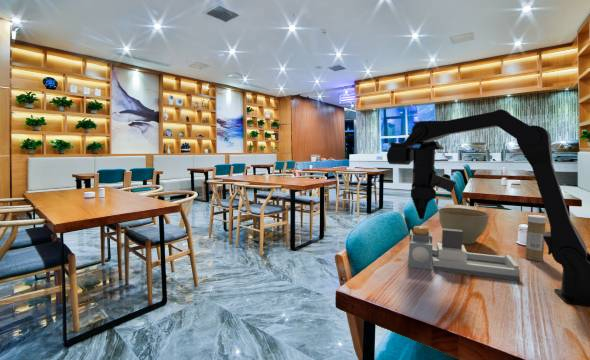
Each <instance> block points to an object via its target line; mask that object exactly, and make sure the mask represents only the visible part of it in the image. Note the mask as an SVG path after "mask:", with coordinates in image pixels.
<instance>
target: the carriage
mask: <svg viewBox="0 0 590 360" xmlns="http://www.w3.org/2000/svg"><path fill="white" fill-rule="evenodd" d="M441 228H442V227H441ZM441 231H442V232H441V242H437V244H436V245H437V246H436V249H437V259H438V260H446V261H454V262H463V263H466V260H467V252H468V251H467V250H466V248H465V244H462V235H463V232H462V230H458V229H446V228H442V230H441Z"/></svg>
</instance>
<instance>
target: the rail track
mask: <svg viewBox="0 0 590 360" xmlns="http://www.w3.org/2000/svg"><path fill="white" fill-rule="evenodd" d="M432 267H433V268H432V269H433V271H438V272H439V271H441V272H446V273H455V274H460V275H461V274H464V275H469V276H477V277H486V278H491V279H492V278H493V279H500V280H509V281H516V282H517V281H518V282H520V280H521V277H520V268H519V267H520V266H519V264H518V263H517V262H516V261H515V260H514V259H513V257H511V255H509V254H504V255H495V254H483V253H474V252H468V251H467V260H466V263H463V262H454V261H446V260H438V259H437V248H432Z"/></svg>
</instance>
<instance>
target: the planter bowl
mask: <svg viewBox="0 0 590 360" xmlns="http://www.w3.org/2000/svg"><path fill="white" fill-rule="evenodd" d="M438 214H439V215H438V216H439V217H438V218H439V223H440V226H441V228H446V229H458V230H462V232H463V235H462V245H465V244H466V245H468V244H470V245H471V244H475V243H477V240H478V239H479V238H480V237H481V236H482V234H483V233H484V232H485V230H486V229H487V226H488V225H487V224H488V219H489V217H490V214H489V213H487V212H485V211H483V210H478V209H471V208H463V207H442V208H438Z"/></svg>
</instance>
